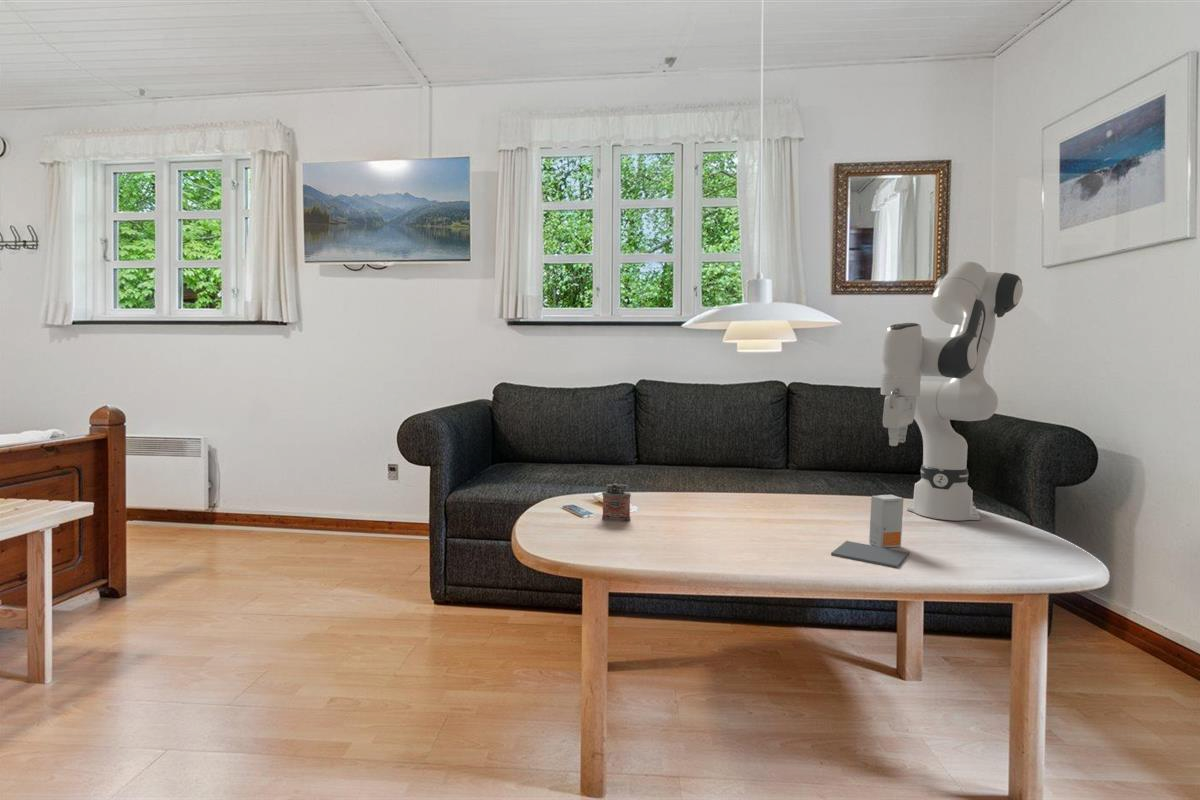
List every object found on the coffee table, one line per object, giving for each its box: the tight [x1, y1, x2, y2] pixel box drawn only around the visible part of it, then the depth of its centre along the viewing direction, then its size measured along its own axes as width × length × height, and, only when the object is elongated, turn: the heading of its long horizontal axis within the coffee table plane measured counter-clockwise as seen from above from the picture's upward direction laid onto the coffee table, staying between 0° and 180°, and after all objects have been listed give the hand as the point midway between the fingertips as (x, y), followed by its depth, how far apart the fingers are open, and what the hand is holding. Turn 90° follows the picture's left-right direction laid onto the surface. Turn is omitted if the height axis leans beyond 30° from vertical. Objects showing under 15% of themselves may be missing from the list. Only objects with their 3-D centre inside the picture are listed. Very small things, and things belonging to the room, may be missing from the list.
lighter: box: [601, 483, 632, 523], centre depth 170 cm, size 8×3×10 cm, turn 73°
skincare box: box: [868, 494, 904, 548], centre depth 148 cm, size 6×4×12 cm
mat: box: [830, 540, 910, 569], centre depth 141 cm, size 12×14×1 cm
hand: (897, 444), depth 152 cm, fingers open, 8 cm apart
